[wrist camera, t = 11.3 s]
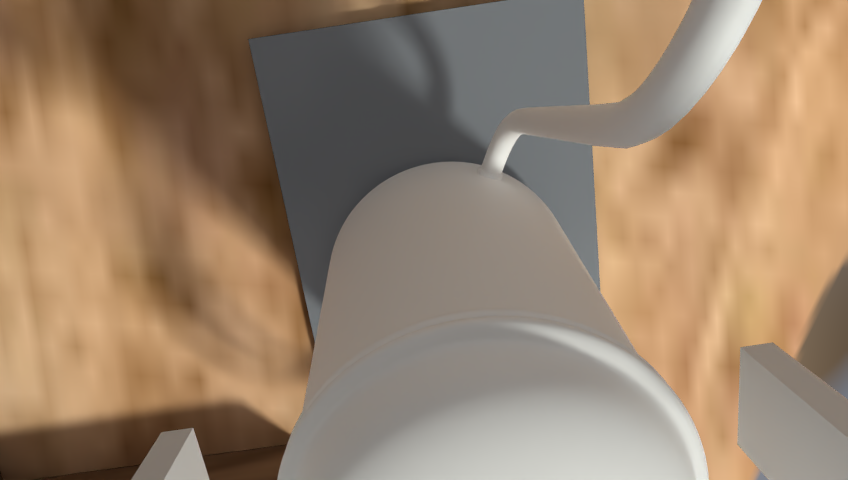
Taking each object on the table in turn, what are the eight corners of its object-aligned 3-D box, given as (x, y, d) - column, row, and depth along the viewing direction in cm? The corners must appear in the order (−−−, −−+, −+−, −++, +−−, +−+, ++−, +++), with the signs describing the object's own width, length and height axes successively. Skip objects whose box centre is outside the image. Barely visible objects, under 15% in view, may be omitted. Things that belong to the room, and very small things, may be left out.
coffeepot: (659, 22, 24) (1421, -117, 6) (483, 499, 31) (585, 1111, 13) (408, -56, 23) (396, -514, 5) (284, 457, 30) (88, 1058, 12)
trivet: (252, 39, 24) (248, 39, 24) (578, -10, 24) (583, -12, 23) (345, 469, 31) (344, 476, 30) (605, 433, 30) (608, 440, 30)
